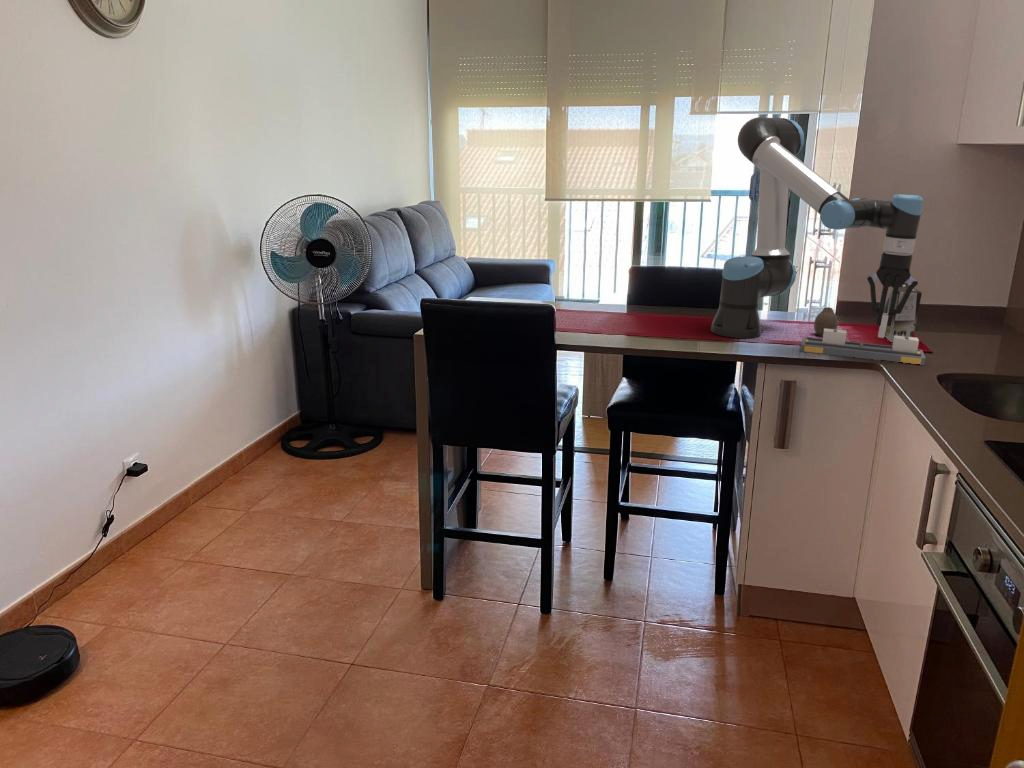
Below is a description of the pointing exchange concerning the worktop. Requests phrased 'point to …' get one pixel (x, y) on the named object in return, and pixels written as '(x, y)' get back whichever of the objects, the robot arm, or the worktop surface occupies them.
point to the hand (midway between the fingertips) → (881, 336)
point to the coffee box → (904, 315)
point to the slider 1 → (834, 336)
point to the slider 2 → (905, 344)
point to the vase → (825, 321)
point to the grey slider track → (861, 351)
